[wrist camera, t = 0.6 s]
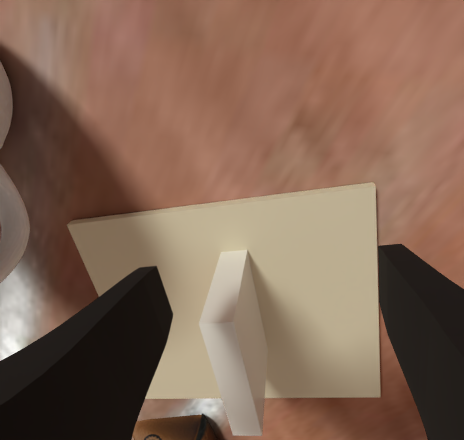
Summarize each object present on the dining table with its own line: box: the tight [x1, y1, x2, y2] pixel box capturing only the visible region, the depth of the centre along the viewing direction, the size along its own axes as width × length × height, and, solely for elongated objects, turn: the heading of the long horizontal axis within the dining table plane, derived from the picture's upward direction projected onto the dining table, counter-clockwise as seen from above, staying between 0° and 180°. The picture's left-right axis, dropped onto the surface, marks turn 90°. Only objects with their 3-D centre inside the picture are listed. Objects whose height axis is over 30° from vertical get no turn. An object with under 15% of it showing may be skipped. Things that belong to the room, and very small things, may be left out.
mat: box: [67, 182, 381, 399], centre depth 24 cm, size 18×16×1 cm
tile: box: [199, 250, 268, 436], centre depth 20 cm, size 2×8×6 cm, turn 11°
